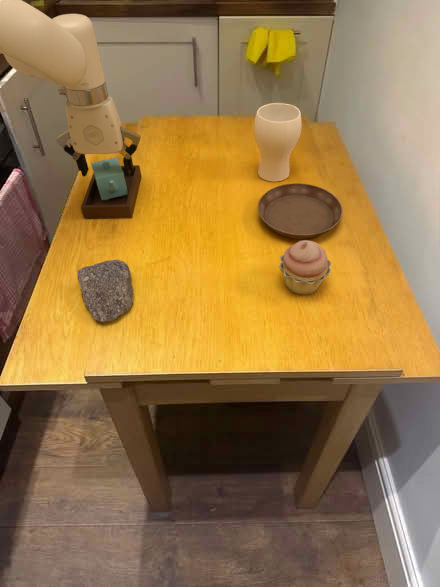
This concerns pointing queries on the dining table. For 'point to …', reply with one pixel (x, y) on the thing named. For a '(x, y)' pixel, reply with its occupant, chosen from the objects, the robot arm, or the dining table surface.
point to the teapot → (109, 178)
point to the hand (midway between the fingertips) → (107, 172)
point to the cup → (276, 138)
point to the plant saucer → (300, 210)
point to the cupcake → (304, 267)
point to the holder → (112, 199)
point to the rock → (106, 289)
